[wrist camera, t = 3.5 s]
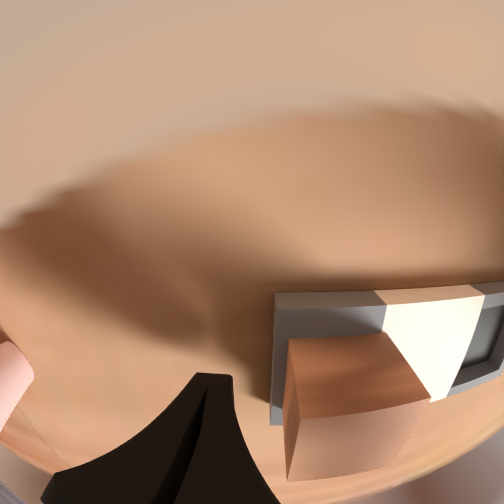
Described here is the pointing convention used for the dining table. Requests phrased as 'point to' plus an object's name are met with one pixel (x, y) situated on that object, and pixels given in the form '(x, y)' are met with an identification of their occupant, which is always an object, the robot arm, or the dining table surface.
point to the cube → (347, 405)
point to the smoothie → (12, 378)
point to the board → (402, 331)
